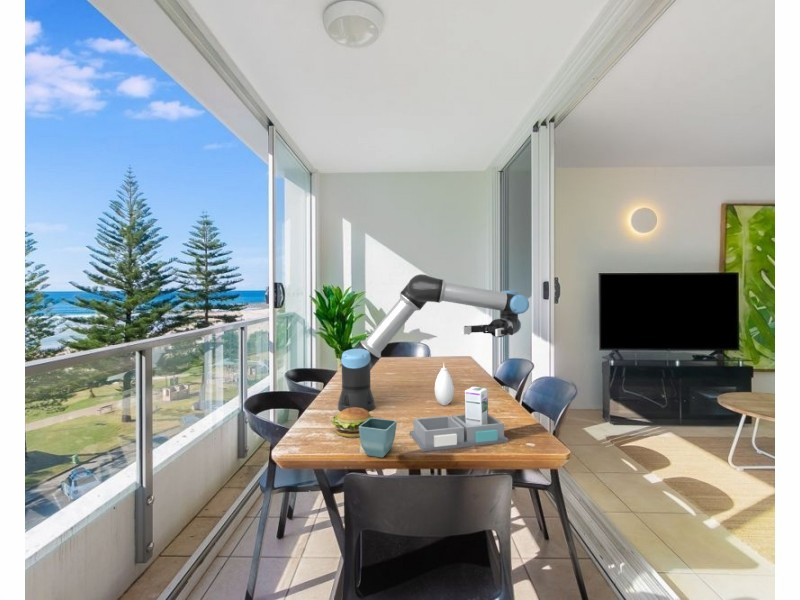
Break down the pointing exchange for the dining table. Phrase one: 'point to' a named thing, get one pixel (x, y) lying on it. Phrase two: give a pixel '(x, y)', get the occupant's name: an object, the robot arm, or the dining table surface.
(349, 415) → the food
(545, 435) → the dining table surface
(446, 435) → the sorting bin tray
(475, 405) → the syrup box
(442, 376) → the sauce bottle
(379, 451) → the flower pot
